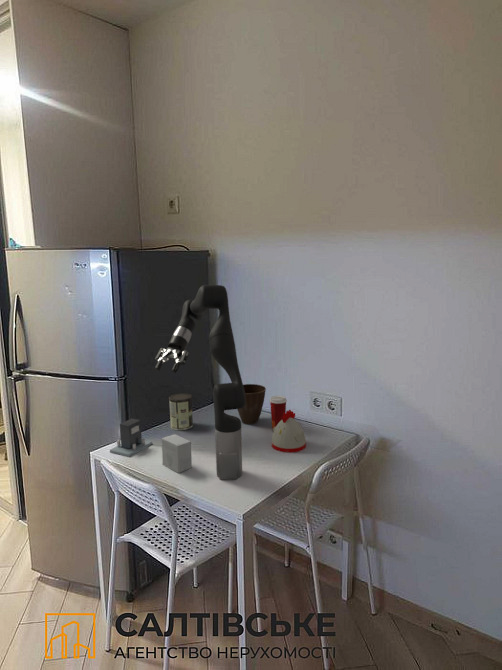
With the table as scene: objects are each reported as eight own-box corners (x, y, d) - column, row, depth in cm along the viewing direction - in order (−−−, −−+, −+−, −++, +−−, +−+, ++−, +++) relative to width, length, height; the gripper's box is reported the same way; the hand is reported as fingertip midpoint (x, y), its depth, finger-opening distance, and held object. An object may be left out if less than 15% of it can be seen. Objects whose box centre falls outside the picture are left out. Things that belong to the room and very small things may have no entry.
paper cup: (290, 426, 211) (289, 396, 208) (281, 432, 204) (281, 401, 202) (274, 423, 215) (274, 394, 212) (266, 429, 208) (266, 398, 206)
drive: (133, 441, 195) (131, 418, 193) (142, 443, 192) (140, 420, 191) (121, 447, 189) (119, 424, 187) (130, 449, 186) (128, 425, 185)
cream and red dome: (264, 446, 190) (264, 410, 188) (285, 436, 200) (285, 402, 198) (291, 455, 181) (291, 418, 178) (312, 444, 191) (312, 409, 188)
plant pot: (251, 413, 228) (250, 382, 225) (272, 421, 217) (272, 388, 215) (227, 421, 218) (226, 388, 215) (249, 430, 207) (248, 395, 205)
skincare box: (192, 467, 172) (191, 440, 170) (178, 473, 168) (177, 446, 166) (176, 459, 180) (175, 433, 178) (162, 464, 175) (160, 438, 173)
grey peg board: (133, 439, 199) (133, 431, 198) (152, 443, 194) (151, 435, 194) (109, 452, 187) (109, 444, 186) (129, 456, 182) (128, 448, 182)
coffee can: (183, 420, 221) (182, 391, 218) (197, 425, 214) (196, 396, 211) (165, 426, 213) (164, 397, 211) (179, 432, 206) (178, 401, 204)
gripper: (162, 333, 204) (147, 364, 196) (190, 335, 197) (175, 367, 189) (170, 343, 209) (156, 374, 201) (197, 345, 203) (183, 377, 195)
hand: (165, 371), depth 195 cm, fingers open, 8 cm apart
